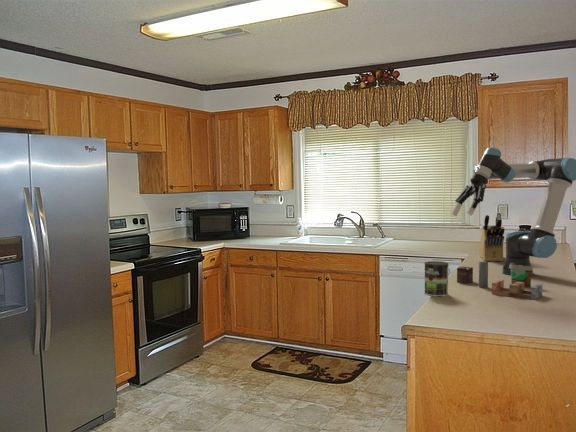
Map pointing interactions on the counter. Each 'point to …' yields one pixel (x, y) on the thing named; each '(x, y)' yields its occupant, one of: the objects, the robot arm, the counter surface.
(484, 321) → the counter surface
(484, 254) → the knife block
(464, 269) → the box
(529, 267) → the food container
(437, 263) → the coffee can
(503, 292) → the socket block
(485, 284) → the plug
